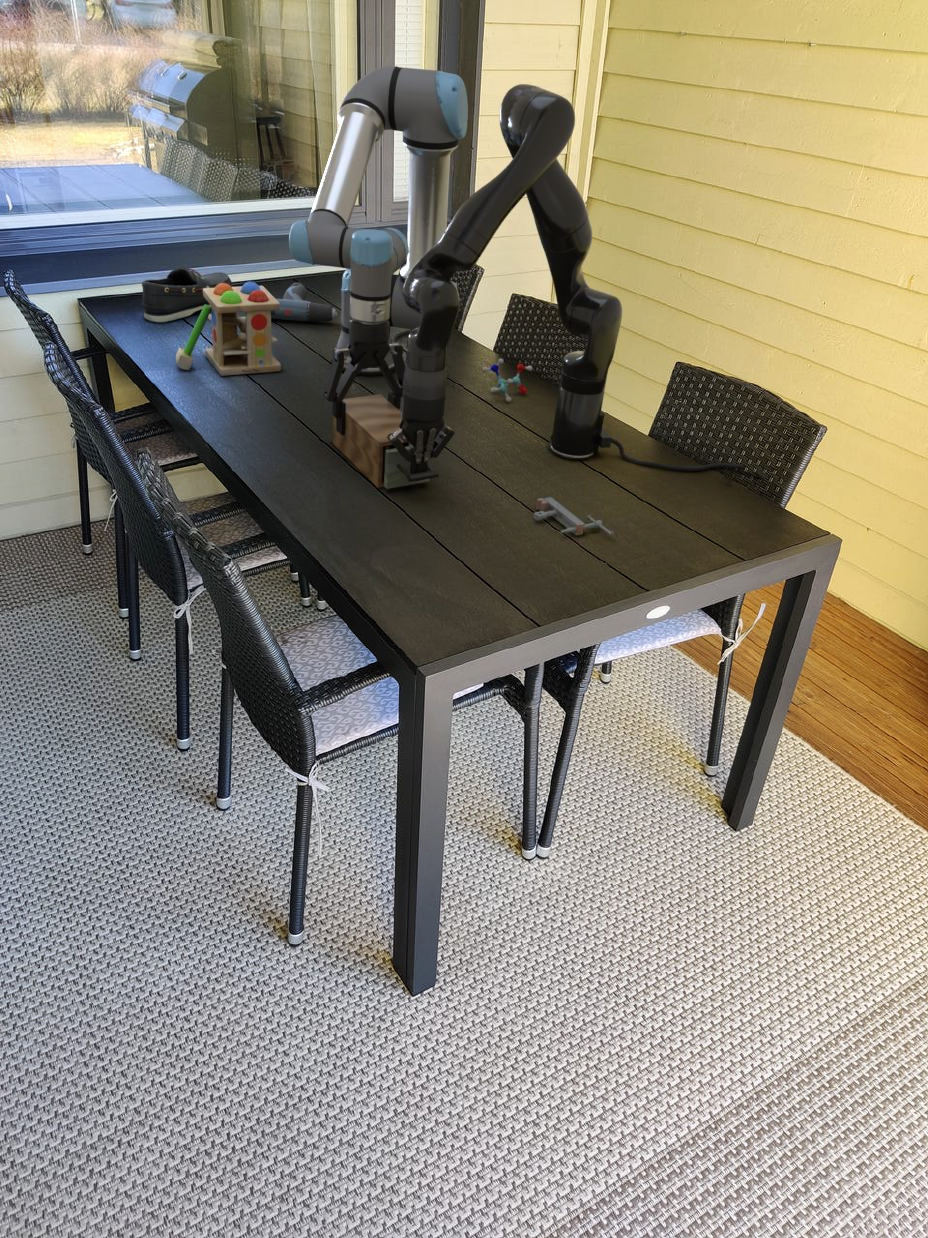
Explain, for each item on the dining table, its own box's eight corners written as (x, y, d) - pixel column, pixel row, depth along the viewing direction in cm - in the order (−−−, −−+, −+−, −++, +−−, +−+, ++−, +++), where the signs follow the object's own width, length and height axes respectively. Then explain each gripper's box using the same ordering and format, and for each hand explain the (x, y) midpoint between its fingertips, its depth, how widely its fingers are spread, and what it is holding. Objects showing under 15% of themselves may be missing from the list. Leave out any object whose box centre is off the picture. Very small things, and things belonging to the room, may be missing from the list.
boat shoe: (251, 301, 273) (249, 262, 267) (161, 324, 249) (157, 282, 243) (217, 292, 278) (215, 254, 273) (126, 314, 254) (121, 273, 249)
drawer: (445, 495, 183) (448, 458, 179) (401, 503, 179) (403, 466, 175) (384, 439, 201) (385, 405, 197) (342, 445, 197) (343, 411, 193)
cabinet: (426, 479, 190) (429, 435, 185) (377, 487, 185) (379, 442, 180) (378, 436, 204) (380, 393, 199) (332, 443, 200) (333, 400, 195)
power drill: (344, 304, 276) (335, 327, 259) (277, 298, 275) (264, 321, 258) (344, 285, 273) (335, 306, 256) (277, 279, 272) (264, 300, 255)
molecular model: (528, 394, 221) (514, 351, 219) (490, 408, 224) (476, 365, 223) (540, 392, 231) (527, 351, 230) (504, 406, 235) (491, 365, 234)
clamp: (523, 501, 180) (568, 492, 185) (522, 511, 182) (566, 502, 186) (570, 539, 170) (616, 528, 174) (568, 550, 171) (614, 539, 176)
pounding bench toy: (183, 379, 220) (176, 299, 210) (169, 357, 231) (162, 280, 221) (282, 371, 230) (280, 294, 220) (264, 350, 240) (262, 276, 230)
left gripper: (320, 330, 176) (320, 444, 189) (432, 319, 187) (425, 428, 199) (304, 317, 181) (305, 428, 194) (414, 308, 192) (408, 414, 204)
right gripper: (399, 402, 166) (394, 493, 176) (467, 393, 172) (459, 482, 181) (380, 385, 171) (377, 475, 181) (447, 377, 177) (440, 465, 187)
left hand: (366, 428), depth 196 cm, fingers closed on cabinet, 10 cm apart
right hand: (418, 478), depth 181 cm, fingers closed
